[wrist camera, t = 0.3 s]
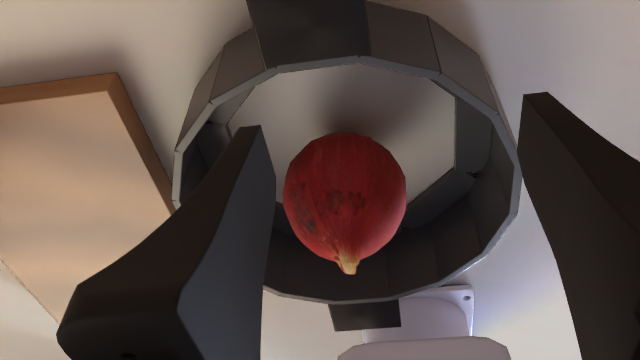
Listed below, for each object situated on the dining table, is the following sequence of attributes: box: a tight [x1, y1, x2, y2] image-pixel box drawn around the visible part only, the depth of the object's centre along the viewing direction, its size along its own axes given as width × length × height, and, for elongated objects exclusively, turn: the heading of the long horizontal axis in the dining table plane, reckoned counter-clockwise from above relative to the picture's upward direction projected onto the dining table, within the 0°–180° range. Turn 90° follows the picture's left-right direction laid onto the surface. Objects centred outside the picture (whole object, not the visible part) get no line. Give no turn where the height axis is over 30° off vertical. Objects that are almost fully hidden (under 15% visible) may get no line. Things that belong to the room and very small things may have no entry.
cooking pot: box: [171, 0, 522, 331], centre depth 27 cm, size 21×16×4 cm
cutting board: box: [0, 73, 176, 325], centre depth 33 cm, size 20×12×2 cm, turn 9°
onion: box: [283, 132, 407, 274], centre depth 25 cm, size 6×6×8 cm
